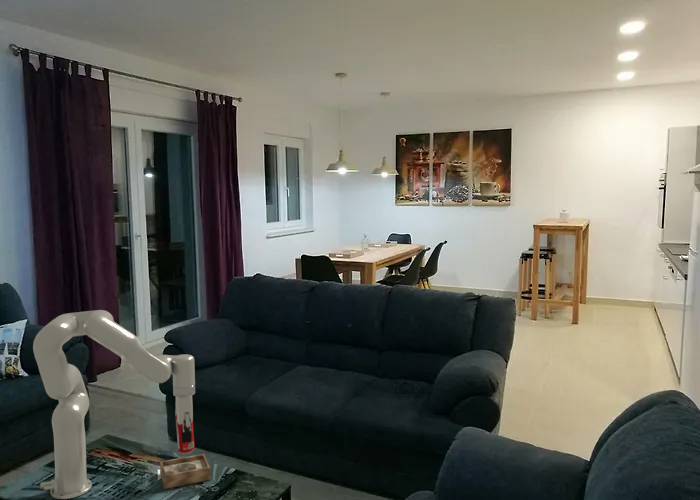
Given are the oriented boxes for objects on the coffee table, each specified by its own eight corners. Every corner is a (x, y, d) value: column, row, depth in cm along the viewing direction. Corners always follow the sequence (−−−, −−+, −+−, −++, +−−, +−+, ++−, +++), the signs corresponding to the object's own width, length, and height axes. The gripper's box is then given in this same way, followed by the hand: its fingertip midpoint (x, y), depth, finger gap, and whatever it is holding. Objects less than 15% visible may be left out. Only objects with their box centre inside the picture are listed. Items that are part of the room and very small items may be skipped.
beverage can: (196, 447, 198) (196, 407, 197) (190, 455, 192) (189, 414, 191) (181, 446, 199) (180, 407, 198) (174, 454, 193) (173, 414, 191)
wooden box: (163, 488, 187) (163, 476, 187) (160, 473, 198) (159, 461, 198) (210, 479, 194) (210, 467, 194) (204, 465, 205) (204, 453, 204)
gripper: (170, 384, 200) (171, 431, 201) (176, 398, 184) (177, 450, 186) (191, 381, 203) (192, 427, 204) (199, 395, 187) (200, 445, 189)
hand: (185, 437), depth 195 cm, fingers closed on beverage can, 5 cm apart
